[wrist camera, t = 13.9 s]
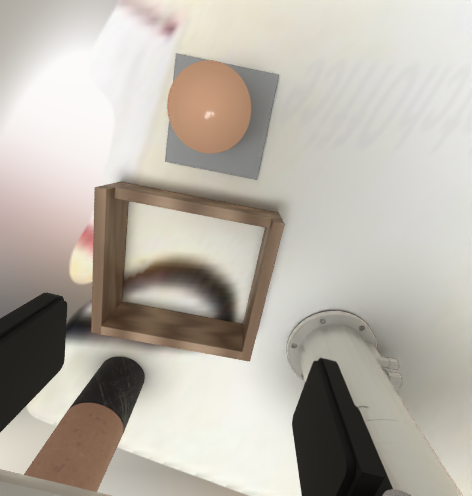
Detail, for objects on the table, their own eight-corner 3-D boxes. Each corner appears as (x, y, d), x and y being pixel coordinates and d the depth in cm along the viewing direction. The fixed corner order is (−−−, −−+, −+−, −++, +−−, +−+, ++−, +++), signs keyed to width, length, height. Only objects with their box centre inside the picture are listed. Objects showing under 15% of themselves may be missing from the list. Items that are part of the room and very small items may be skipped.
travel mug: (99, 350, 43) (-18, 506, 24) (149, 360, 43) (72, 522, 24) (97, 388, 45) (-11, 557, 26) (143, 397, 45) (70, 571, 27)
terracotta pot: (255, 93, 30) (259, 70, 22) (243, 158, 32) (242, 160, 24) (193, 81, 30) (172, 51, 21) (185, 147, 32) (163, 144, 24)
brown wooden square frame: (278, 212, 35) (284, 224, 29) (249, 332, 41) (249, 361, 35) (120, 181, 34) (94, 187, 29) (113, 307, 40) (91, 332, 35)
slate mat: (278, 76, 30) (278, 74, 29) (256, 179, 34) (257, 179, 33) (177, 55, 30) (176, 53, 29) (166, 161, 33) (165, 161, 33)
